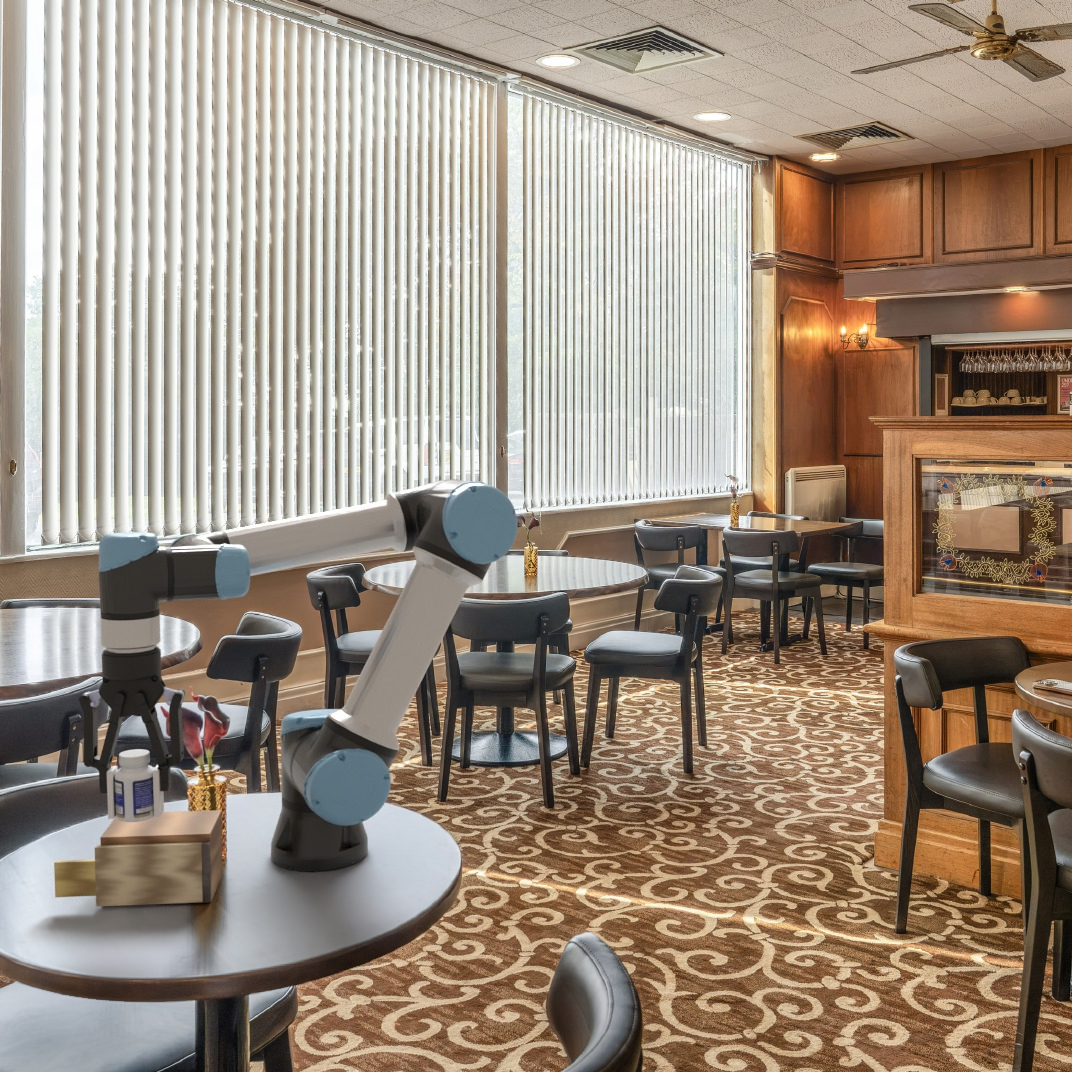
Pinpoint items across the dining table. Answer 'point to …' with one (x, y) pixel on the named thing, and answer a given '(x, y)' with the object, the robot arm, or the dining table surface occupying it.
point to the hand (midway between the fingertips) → (136, 814)
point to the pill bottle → (134, 786)
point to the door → (139, 874)
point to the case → (174, 834)
